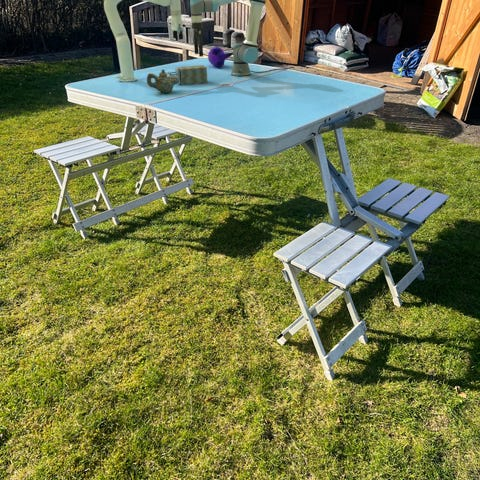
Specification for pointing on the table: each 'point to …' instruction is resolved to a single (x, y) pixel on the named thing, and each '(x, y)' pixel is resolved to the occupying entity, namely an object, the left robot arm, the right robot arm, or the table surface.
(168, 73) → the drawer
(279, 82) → the table surface
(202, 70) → the cabinet
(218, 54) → the toy
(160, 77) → the teapot
